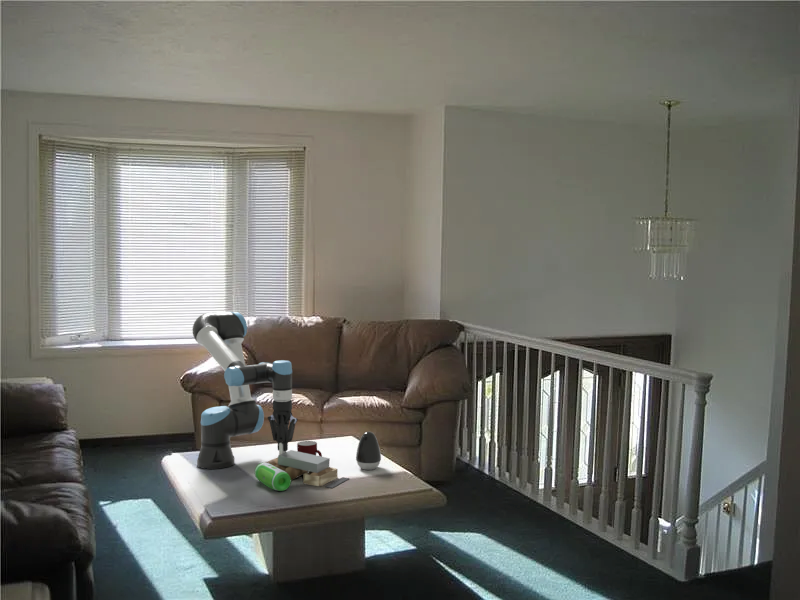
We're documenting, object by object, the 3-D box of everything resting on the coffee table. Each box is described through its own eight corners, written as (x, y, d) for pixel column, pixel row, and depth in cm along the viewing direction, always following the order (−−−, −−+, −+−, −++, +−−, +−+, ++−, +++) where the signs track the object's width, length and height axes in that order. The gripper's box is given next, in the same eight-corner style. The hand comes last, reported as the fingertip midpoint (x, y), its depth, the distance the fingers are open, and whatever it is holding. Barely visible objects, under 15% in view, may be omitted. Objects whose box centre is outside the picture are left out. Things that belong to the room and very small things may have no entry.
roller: (306, 480, 282) (311, 470, 281) (320, 474, 291) (325, 463, 290) (316, 488, 280) (321, 477, 279) (330, 481, 289) (335, 471, 288)
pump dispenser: (351, 470, 299) (351, 433, 298) (362, 463, 309) (362, 427, 308) (374, 473, 295) (374, 435, 294) (384, 466, 305) (384, 430, 304)
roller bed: (258, 475, 292) (258, 462, 292) (273, 468, 301) (273, 456, 301) (295, 481, 285) (294, 468, 284) (309, 474, 294) (309, 461, 293)
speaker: (253, 482, 283) (253, 463, 283) (270, 478, 288) (270, 459, 287) (274, 494, 269) (274, 473, 269) (292, 490, 274) (292, 470, 273)
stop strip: (325, 487, 277) (325, 486, 277) (342, 477, 289) (342, 477, 289) (332, 488, 276) (332, 487, 276) (349, 478, 287) (349, 478, 287)
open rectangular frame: (302, 483, 281) (302, 474, 281) (320, 474, 293) (320, 465, 293) (320, 486, 278) (320, 477, 278) (338, 477, 290) (338, 468, 289)
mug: (325, 465, 306) (325, 441, 305) (319, 470, 298) (319, 446, 297) (301, 463, 308) (301, 440, 308) (294, 469, 300) (294, 445, 300)
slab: (277, 464, 288) (278, 455, 288) (290, 458, 296) (291, 450, 296) (316, 473, 281) (317, 464, 280) (329, 467, 289) (329, 458, 288)
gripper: (263, 400, 291) (263, 459, 292) (290, 403, 285) (291, 463, 286) (274, 396, 297) (274, 454, 299) (301, 399, 292) (301, 458, 293)
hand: (282, 458), depth 293 cm, fingers closed
